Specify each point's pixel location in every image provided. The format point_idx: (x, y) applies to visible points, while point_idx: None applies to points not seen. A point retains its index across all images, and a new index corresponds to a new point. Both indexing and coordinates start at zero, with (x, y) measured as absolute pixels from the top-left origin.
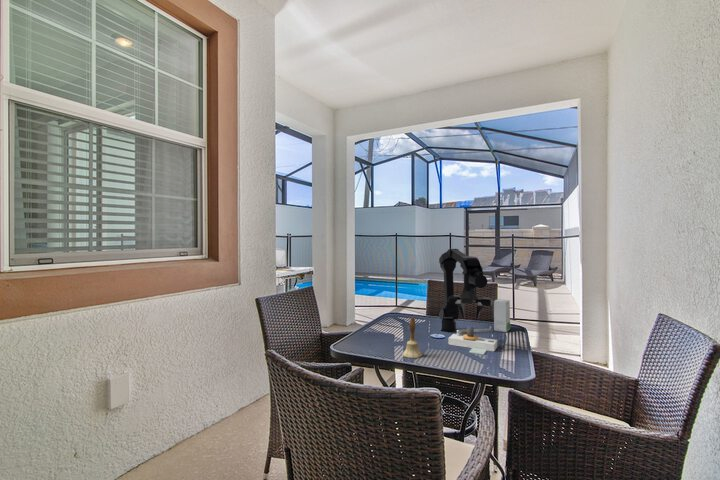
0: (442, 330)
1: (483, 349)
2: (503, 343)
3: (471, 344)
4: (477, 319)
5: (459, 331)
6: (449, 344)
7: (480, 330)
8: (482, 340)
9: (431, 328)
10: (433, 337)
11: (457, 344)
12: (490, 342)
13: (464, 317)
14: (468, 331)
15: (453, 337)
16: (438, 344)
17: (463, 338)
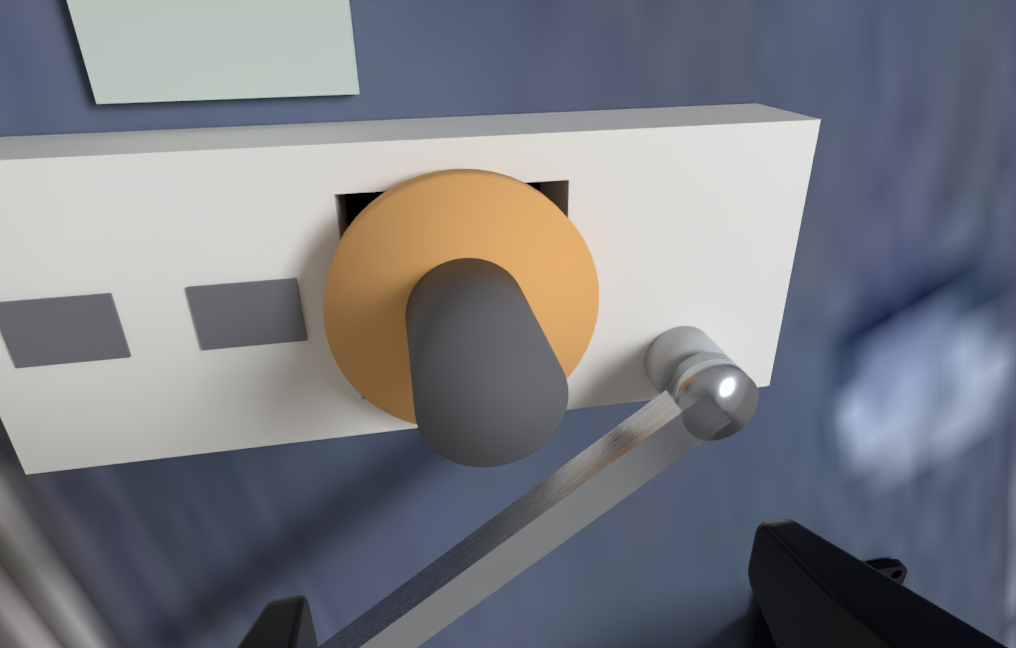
0: (885, 566)
1: (155, 99)
2: (84, 571)
3: (387, 131)
4: (267, 627)
5: (695, 371)
6: (741, 105)
7: (386, 615)
8: (223, 294)
9: (993, 576)
10: (973, 298)
11: (624, 111)
12: (41, 270)
13: (756, 590)
14: (505, 301)
15: (741, 195)
16: (899, 10)
17: None
